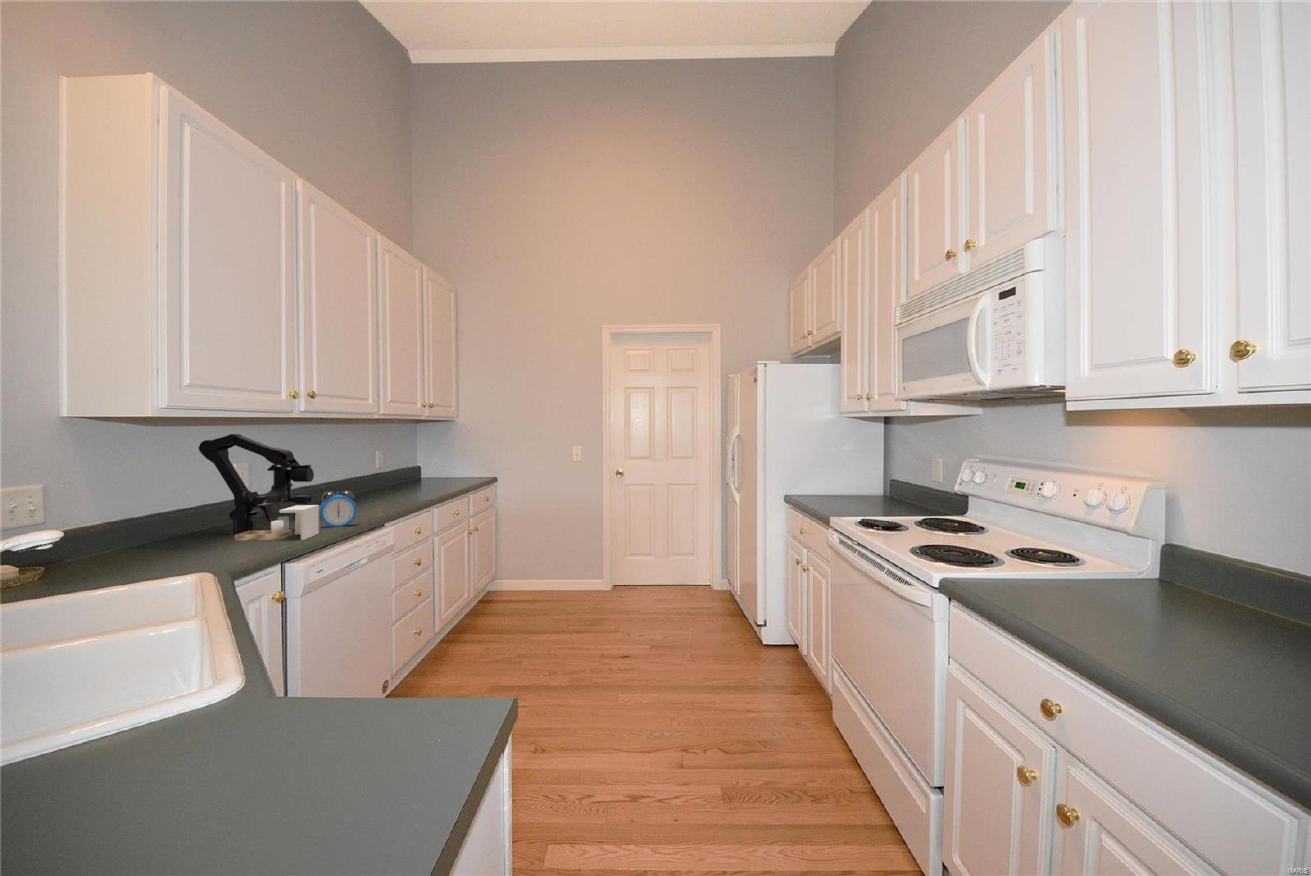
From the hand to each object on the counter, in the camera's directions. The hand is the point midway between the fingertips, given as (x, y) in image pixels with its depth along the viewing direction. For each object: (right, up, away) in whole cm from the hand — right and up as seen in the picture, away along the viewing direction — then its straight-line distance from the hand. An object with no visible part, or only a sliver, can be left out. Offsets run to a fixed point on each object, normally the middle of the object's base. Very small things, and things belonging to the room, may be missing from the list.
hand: (282, 521), depth 210 cm
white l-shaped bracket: (+14, -5, -11) cm, 18 cm away
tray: (+2, -4, -13) cm, 14 cm away
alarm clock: (+14, -4, +13) cm, 20 cm away
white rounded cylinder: (+7, -4, -12) cm, 14 cm away
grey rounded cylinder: (0, -4, 0) cm, 4 cm away
